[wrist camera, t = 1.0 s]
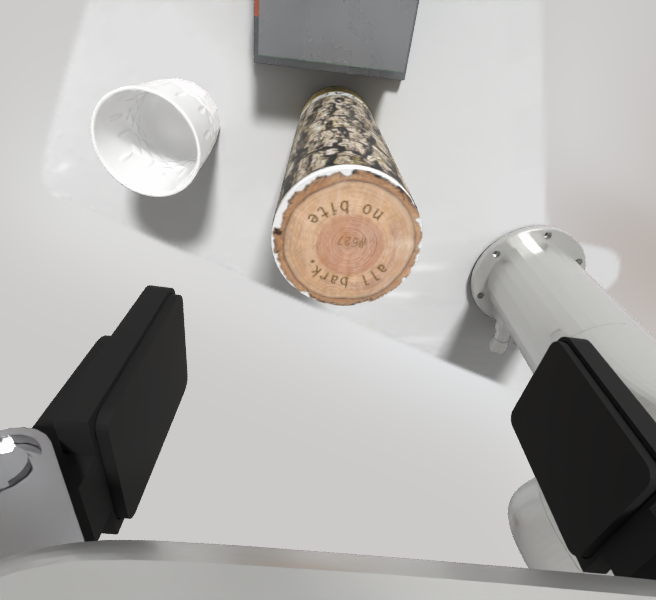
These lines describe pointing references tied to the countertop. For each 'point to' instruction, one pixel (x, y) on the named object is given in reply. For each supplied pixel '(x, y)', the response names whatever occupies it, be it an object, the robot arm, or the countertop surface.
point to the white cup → (155, 134)
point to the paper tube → (343, 206)
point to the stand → (336, 35)
